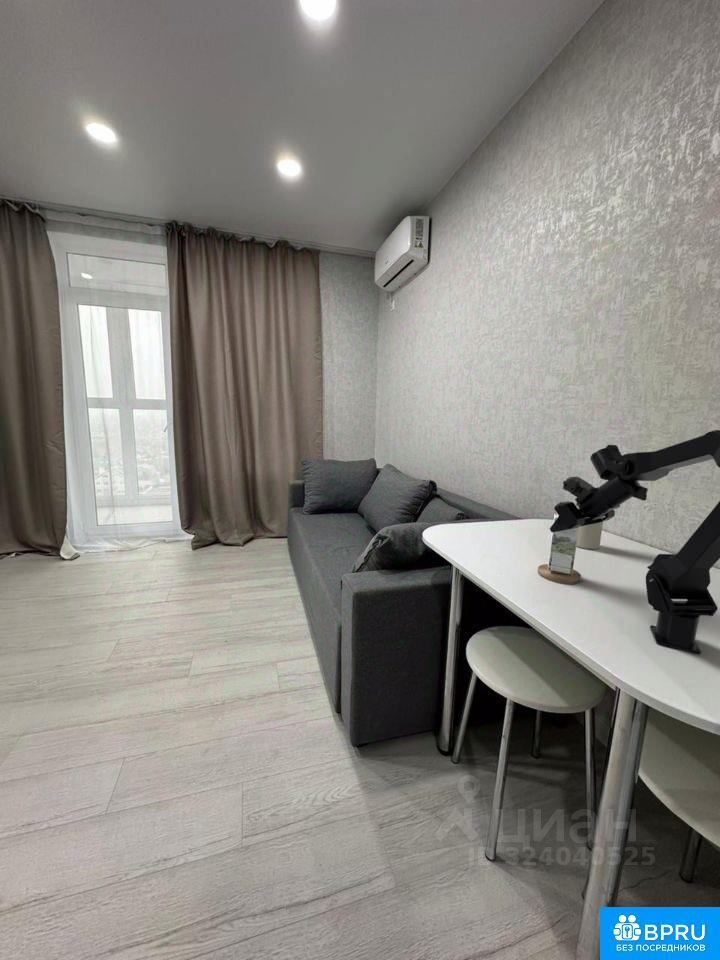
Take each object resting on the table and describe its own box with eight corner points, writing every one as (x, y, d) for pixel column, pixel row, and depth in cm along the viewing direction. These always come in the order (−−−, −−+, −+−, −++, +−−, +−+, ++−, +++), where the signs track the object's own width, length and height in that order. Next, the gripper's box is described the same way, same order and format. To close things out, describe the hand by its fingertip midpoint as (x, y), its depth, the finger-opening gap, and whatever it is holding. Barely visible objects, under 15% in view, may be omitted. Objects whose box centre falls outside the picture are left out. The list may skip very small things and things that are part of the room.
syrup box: (571, 568, 101) (578, 515, 99) (572, 576, 96) (580, 520, 93) (547, 564, 103) (554, 512, 101) (547, 571, 98) (554, 516, 96)
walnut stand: (581, 587, 93) (581, 582, 93) (536, 578, 98) (537, 573, 98) (579, 573, 102) (580, 568, 102) (538, 565, 107) (539, 561, 107)
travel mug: (594, 551, 120) (602, 495, 117) (567, 545, 125) (574, 491, 122) (602, 546, 125) (610, 492, 122) (576, 540, 131) (583, 488, 128)
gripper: (607, 465, 97) (560, 500, 108) (566, 469, 87) (519, 506, 98) (638, 502, 92) (585, 534, 103) (598, 509, 82) (545, 544, 93)
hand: (559, 528), depth 99 cm, fingers closed on syrup box, 7 cm apart
